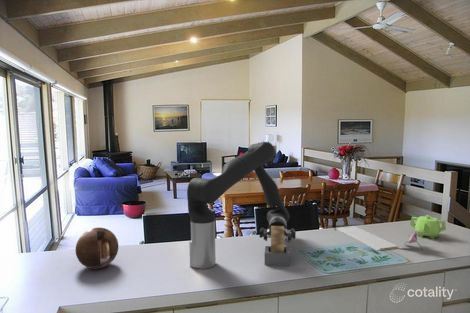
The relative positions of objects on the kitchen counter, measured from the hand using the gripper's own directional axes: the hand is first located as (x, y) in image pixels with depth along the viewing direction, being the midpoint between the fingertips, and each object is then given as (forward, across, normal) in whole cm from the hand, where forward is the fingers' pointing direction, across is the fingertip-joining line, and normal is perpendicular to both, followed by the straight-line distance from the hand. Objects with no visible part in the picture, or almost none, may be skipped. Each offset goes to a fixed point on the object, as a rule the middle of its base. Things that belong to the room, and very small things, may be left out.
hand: (277, 238), depth 137 cm
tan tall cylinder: (-2, 0, +9) cm, 9 cm away
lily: (-23, +57, +10) cm, 62 cm away
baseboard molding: (-34, +39, +10) cm, 53 cm away
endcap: (-2, 0, +10) cm, 10 cm away
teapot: (-41, +70, +10) cm, 82 cm away
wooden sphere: (+11, -67, +10) cm, 69 cm away
